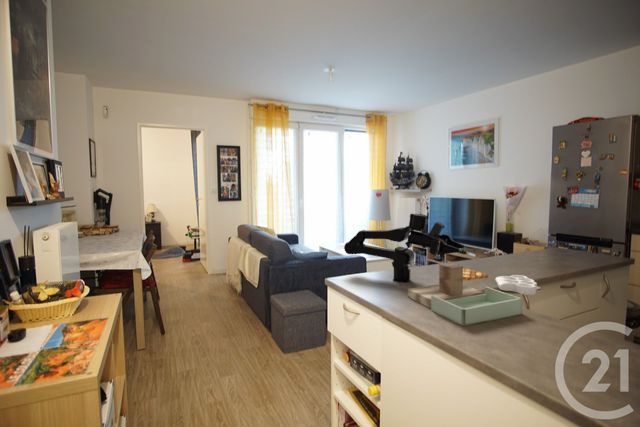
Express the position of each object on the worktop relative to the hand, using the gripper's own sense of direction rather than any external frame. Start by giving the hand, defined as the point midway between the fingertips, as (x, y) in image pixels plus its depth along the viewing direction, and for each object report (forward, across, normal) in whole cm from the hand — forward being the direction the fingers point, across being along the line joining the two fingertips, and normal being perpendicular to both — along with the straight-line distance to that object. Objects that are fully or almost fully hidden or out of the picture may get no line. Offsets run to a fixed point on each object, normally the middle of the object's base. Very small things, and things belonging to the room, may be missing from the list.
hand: (461, 248), depth 131 cm
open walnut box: (+2, -18, +13) cm, 22 cm away
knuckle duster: (+21, +12, +13) cm, 28 cm away
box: (+11, -24, +14) cm, 30 cm away
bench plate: (0, -16, +16) cm, 23 cm away
